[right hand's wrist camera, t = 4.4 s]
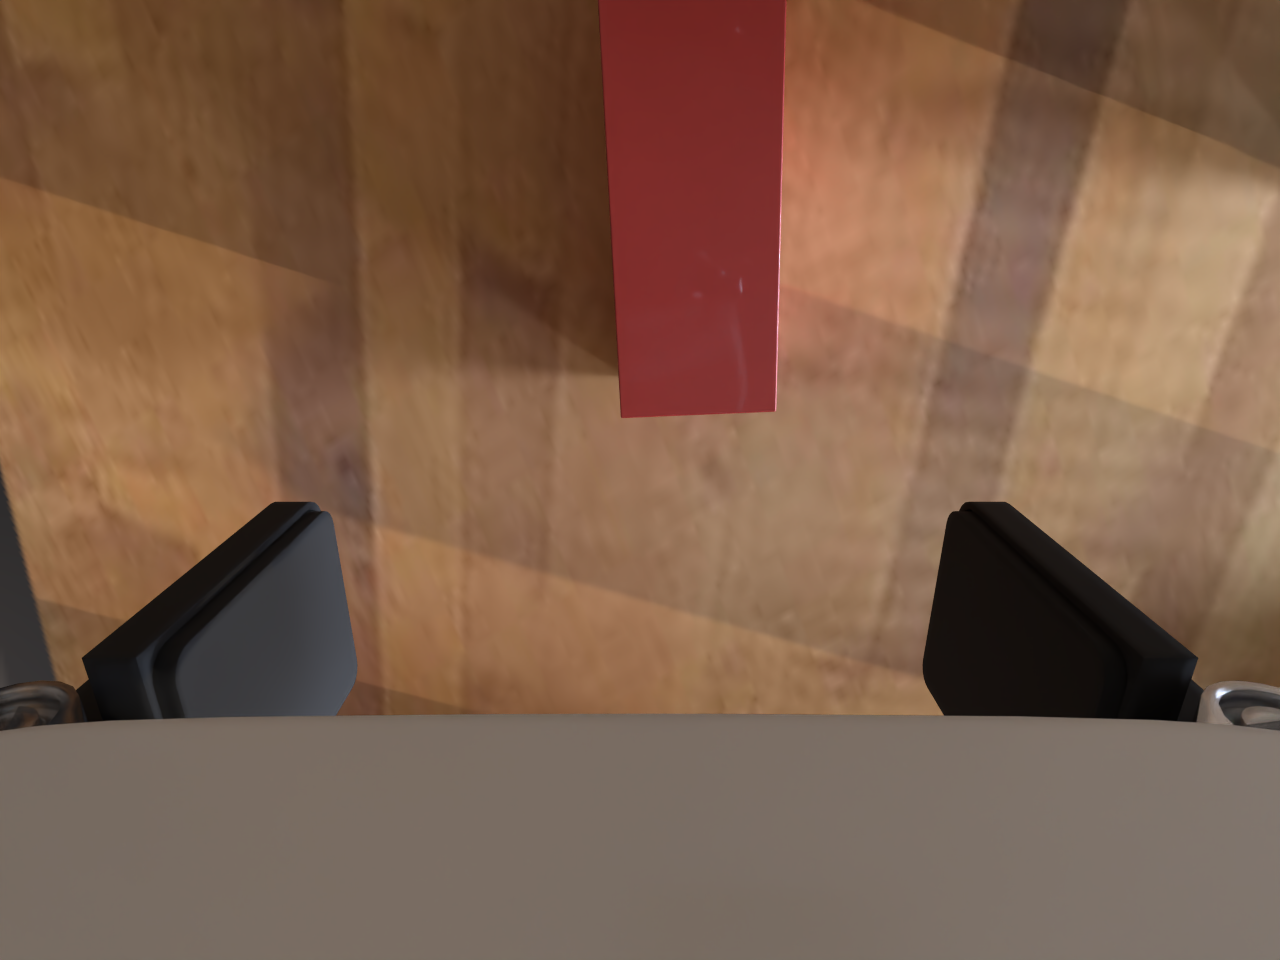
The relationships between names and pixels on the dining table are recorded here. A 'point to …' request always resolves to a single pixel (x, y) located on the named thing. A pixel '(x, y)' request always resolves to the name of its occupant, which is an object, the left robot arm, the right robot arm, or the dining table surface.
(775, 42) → the cabinet
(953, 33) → the dining table surface
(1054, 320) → the dining table surface
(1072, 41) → the dining table surface
